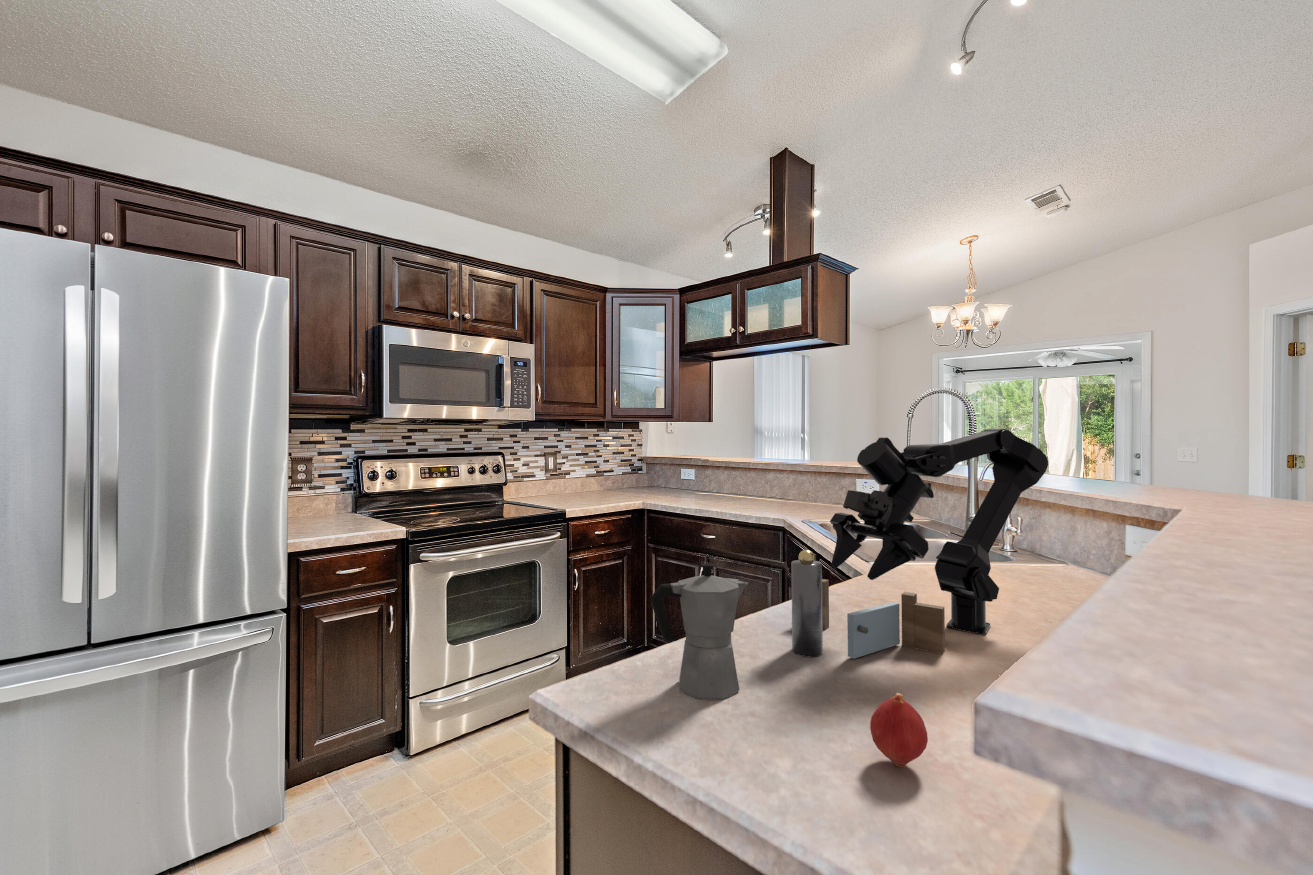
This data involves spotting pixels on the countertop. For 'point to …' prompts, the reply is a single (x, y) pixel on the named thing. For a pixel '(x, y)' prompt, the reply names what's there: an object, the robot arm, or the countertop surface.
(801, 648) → the grey tall cylinder
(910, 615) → the fence
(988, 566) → the robot arm
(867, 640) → the gate
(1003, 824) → the countertop surface
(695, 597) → the coffeepot
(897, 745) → the onion
